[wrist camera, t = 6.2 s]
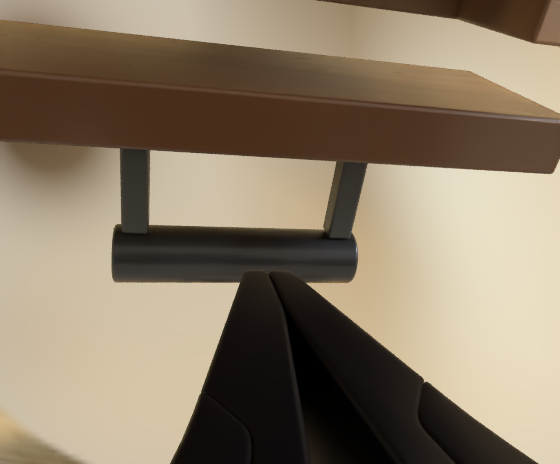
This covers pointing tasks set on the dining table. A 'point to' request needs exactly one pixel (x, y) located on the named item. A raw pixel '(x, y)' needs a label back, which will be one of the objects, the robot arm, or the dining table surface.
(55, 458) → the dining table surface
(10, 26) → the drawer
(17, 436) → the dining table surface
